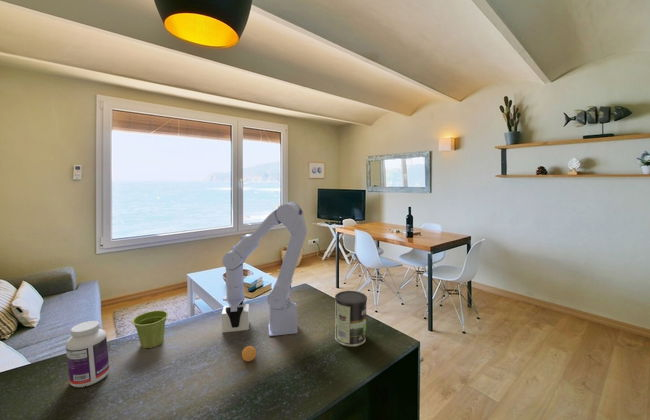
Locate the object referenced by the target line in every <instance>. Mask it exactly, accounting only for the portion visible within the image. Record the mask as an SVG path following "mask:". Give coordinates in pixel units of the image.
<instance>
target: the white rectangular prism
mask: <svg viewBox="0 0 650 420" xmlns="http://www.w3.org/2000/svg"><path fill="white" fill-rule="evenodd" d="M226 307H230V305H223V308H222V312H221V328H222V329H221V331H222V332H221V333H231V332H239V331H240V332H241V331H249V329H250V304H249V303H245V304H244V303H243V304H242V305H238V306H237V307H243V311H242V313H241V316H240V322H239V327H234V328H232V325H231V322H230V318H229V316H228V314H227V313H226Z"/></svg>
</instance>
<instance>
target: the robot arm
mask: <svg viewBox="0 0 650 420" xmlns="http://www.w3.org/2000/svg"><path fill="white" fill-rule="evenodd" d="M281 224H282V225H283V226H285V227H286V229H287V230H288V232H289V234H290V238H289V240H288V244H287V247H286V250H285V253H284V257H283V260H282V263H281V266H280V270H279V272H278V276H277V279H276V281H275V283H274V286H273V288H272V290H271V291H270V292H269V294H268V295H267V299H266V301H267V304H268V306H269V322H268V325H267V326H268V336H269V337H274V336H282V335H283V336H284V335H293V334H298V332H299V331H298V320H299V319H298V306H297V303H296V302H292V301H291V299H290V296H291V295H292V293H293V292H292V291H293V289H292V283H293V278H294V274H295V271H296V268H297V264H298V262H299V258H300V255H301V251H302V249H303V246H304V243H305V239H306V236H307V233H308V229H307V224H306V221H305V217H304V211H303V210H302V208H301V207H300V205H299V204H298V203H297V202H295V201H288V202H286V203H282V204H281V205H279V206H278V207H277V208H276V209H274V210H273V211H271V213H269V214H268V216H267V217H266V218H265V219H264V220H263V221H262V222H261V223H260V224H259V225H258V226H257V228H256V229H255V230H254V231H253V232H252V233H247V234H245V235H241V236H240V238H239V242H237V244H235V245H232V246H231V247H230V249H231V250H230V251H228V252H226V253H225V254H224V256H223V257H222V265H223V266H224V267H225V283H226V284H225V287H226V290H225V291H226V295H225V296H223V298H222V300H223V302H224V301H225V302H227V304H228V306H230V307H226V313H227V314H228V316H229V318H230V322H231V325H232V328H234V327H239V322H240V316H241V313H242V311H243V307H237V306H238V305H243V304H244V301H245V288H244V286H245V285H244V283H245V282H244V263H245V262H246V260H247V259H248V257H249V256H250V255H251V254H252V253H253V252H254V251H255V250H257V248H258V247H259V246H260V240H261V239H262V238H263V237H264V236H265V235H266V234H267V233H268V232H269V231H271V229H273V227H274V226H278V225H281Z"/></svg>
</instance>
